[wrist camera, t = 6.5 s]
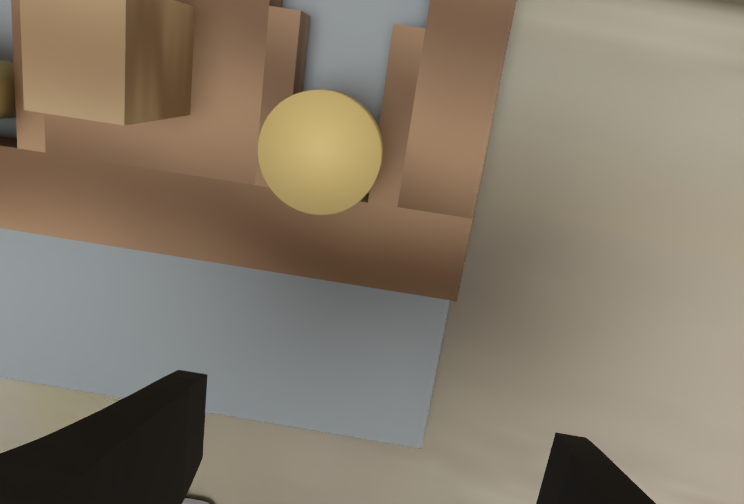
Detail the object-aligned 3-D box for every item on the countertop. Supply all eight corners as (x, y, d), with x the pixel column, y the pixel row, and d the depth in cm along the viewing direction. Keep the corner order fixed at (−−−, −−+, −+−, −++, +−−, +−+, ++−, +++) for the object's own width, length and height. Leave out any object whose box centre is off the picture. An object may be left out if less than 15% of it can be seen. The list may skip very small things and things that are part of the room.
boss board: (421, 430, 23) (421, 527, 18) (-63, 348, 24) (-191, 421, 19) (548, -230, 16) (603, -364, 11) (-125, -315, 17) (-347, -475, 12)
